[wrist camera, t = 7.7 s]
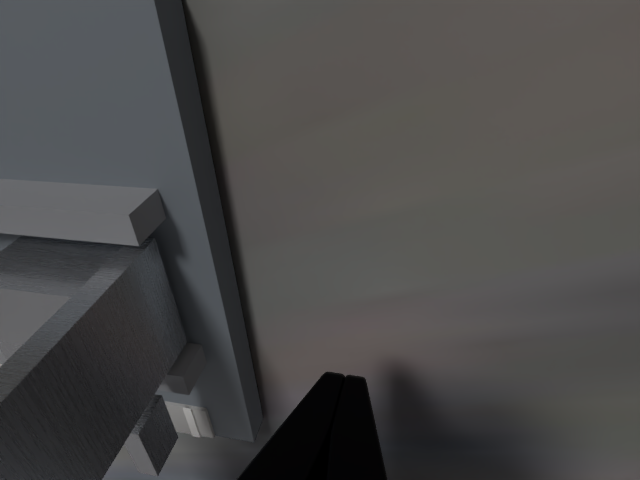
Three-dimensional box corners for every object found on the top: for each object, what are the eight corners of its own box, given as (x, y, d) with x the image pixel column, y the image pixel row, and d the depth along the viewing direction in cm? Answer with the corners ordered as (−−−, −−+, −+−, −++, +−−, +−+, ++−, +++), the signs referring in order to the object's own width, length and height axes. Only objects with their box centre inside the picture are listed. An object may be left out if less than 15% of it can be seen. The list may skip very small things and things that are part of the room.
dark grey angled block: (155, 237, 11) (-57, 463, 6) (205, 402, 14) (96, 622, 10) (17, 225, 12) (-262, 417, 7) (97, 384, 15) (-51, 579, 10)
